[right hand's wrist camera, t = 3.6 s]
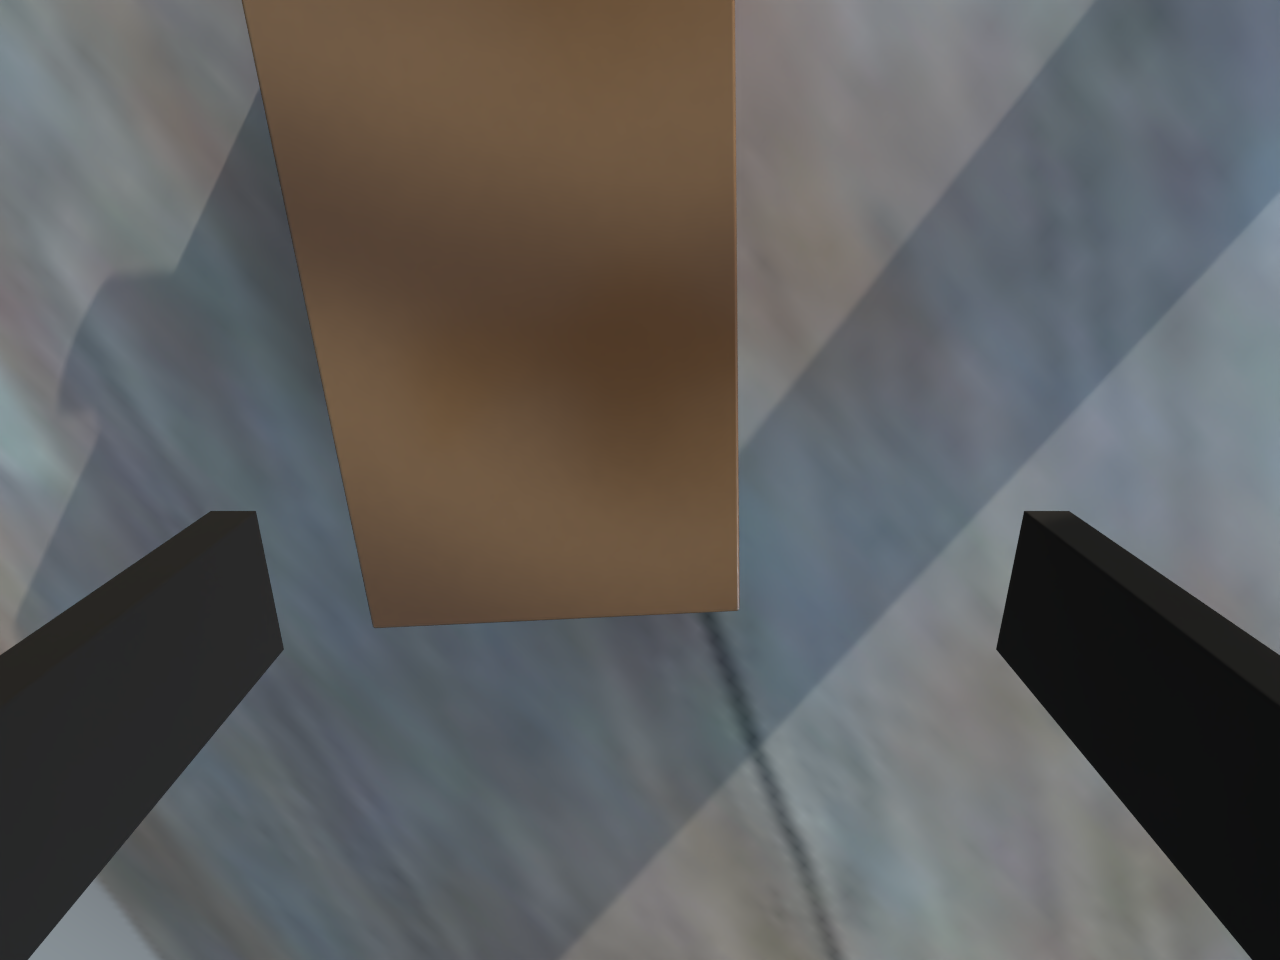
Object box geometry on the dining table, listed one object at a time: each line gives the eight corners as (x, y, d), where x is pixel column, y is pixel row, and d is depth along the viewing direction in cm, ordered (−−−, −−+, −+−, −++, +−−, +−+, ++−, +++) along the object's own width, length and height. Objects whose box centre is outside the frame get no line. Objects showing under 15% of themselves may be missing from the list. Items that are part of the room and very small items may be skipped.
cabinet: (360, -68, 21) (188, -247, 13) (696, -90, 21) (733, -285, 13) (451, 509, 28) (372, 629, 20) (710, 496, 27) (739, 611, 19)
